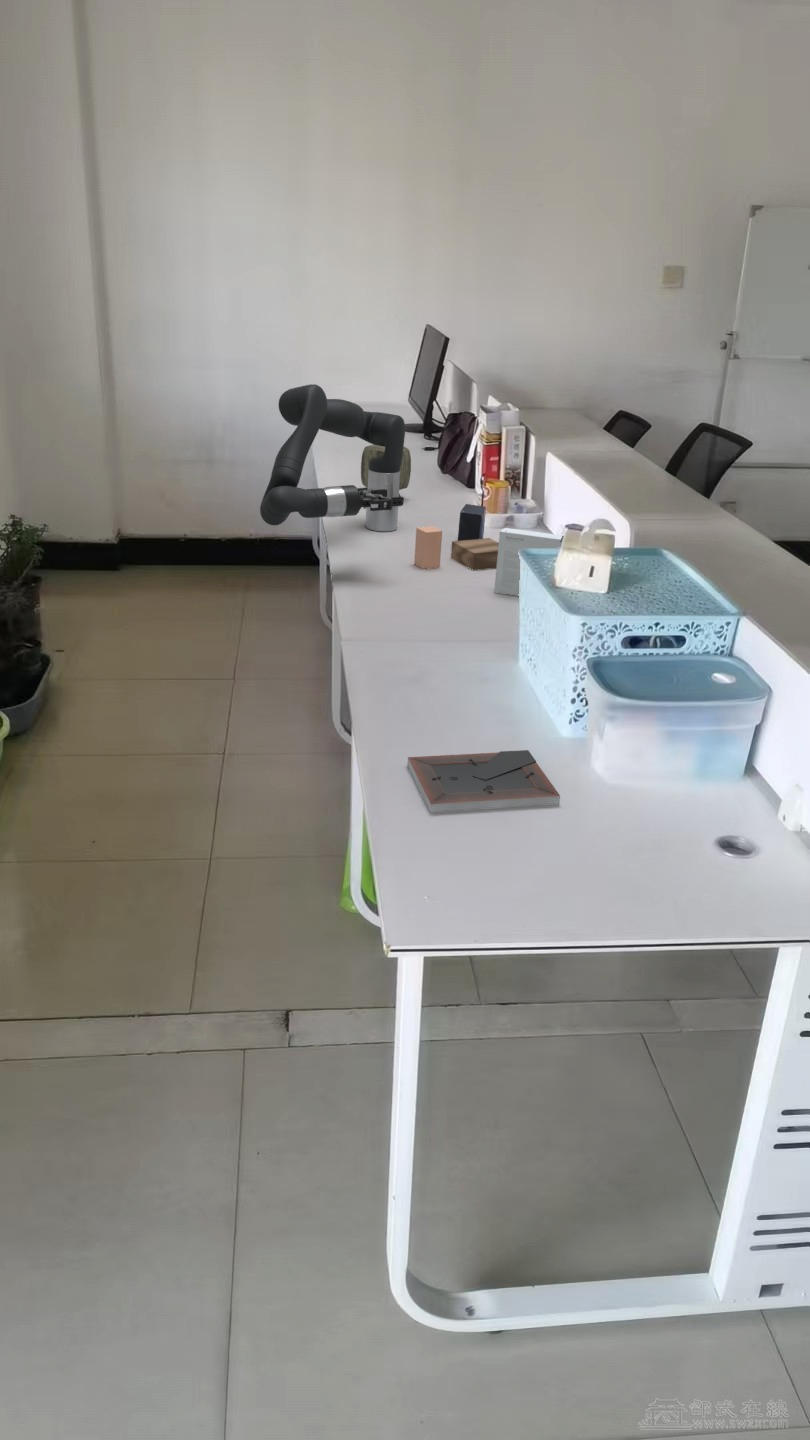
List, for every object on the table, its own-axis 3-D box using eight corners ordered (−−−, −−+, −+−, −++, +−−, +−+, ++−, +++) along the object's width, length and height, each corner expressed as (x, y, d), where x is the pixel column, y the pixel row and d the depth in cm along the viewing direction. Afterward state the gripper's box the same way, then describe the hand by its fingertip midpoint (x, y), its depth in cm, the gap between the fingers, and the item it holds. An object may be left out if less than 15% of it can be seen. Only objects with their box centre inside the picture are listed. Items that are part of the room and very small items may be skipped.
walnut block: (450, 559, 305) (452, 541, 303) (487, 555, 310) (489, 538, 308) (472, 571, 295) (474, 553, 293) (510, 567, 300) (512, 549, 298)
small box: (478, 550, 313) (482, 514, 309) (456, 548, 314) (459, 511, 310) (484, 541, 322) (487, 505, 318) (462, 538, 324) (464, 503, 319)
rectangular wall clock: (526, 762, 194) (407, 769, 189) (528, 749, 193) (407, 755, 188) (558, 808, 179) (430, 816, 175) (560, 794, 178) (431, 802, 174)
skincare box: (579, 599, 277) (587, 537, 271) (575, 605, 273) (583, 543, 266) (498, 587, 283) (504, 526, 276) (493, 593, 278) (498, 531, 272)
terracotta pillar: (414, 564, 297) (416, 527, 293) (430, 562, 300) (432, 526, 295) (423, 569, 293) (426, 532, 289) (439, 567, 296) (442, 530, 292)
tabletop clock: (409, 502, 361) (413, 424, 350) (394, 506, 354) (398, 427, 343) (372, 494, 368) (375, 417, 357) (356, 499, 360) (359, 420, 350)
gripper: (351, 492, 268) (409, 488, 276) (325, 480, 279) (382, 476, 287) (350, 523, 271) (407, 518, 279) (325, 509, 282) (380, 505, 290)
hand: (394, 497), depth 283 cm, fingers open, 8 cm apart
